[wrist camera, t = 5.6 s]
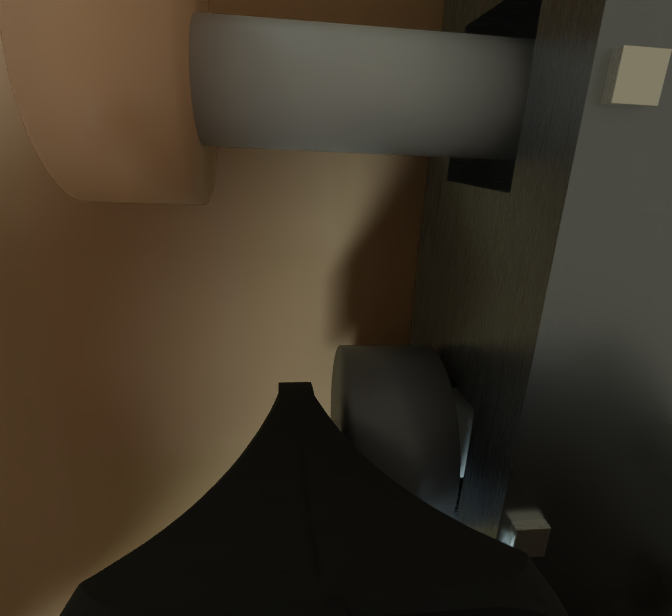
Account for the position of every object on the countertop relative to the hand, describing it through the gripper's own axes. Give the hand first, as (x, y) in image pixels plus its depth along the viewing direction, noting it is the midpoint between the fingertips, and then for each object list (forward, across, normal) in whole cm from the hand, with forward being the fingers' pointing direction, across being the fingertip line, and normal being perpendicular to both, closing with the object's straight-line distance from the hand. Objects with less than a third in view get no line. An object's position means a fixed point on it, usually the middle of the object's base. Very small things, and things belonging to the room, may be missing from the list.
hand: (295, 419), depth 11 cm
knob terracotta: (+1, 0, -7) cm, 7 cm away
